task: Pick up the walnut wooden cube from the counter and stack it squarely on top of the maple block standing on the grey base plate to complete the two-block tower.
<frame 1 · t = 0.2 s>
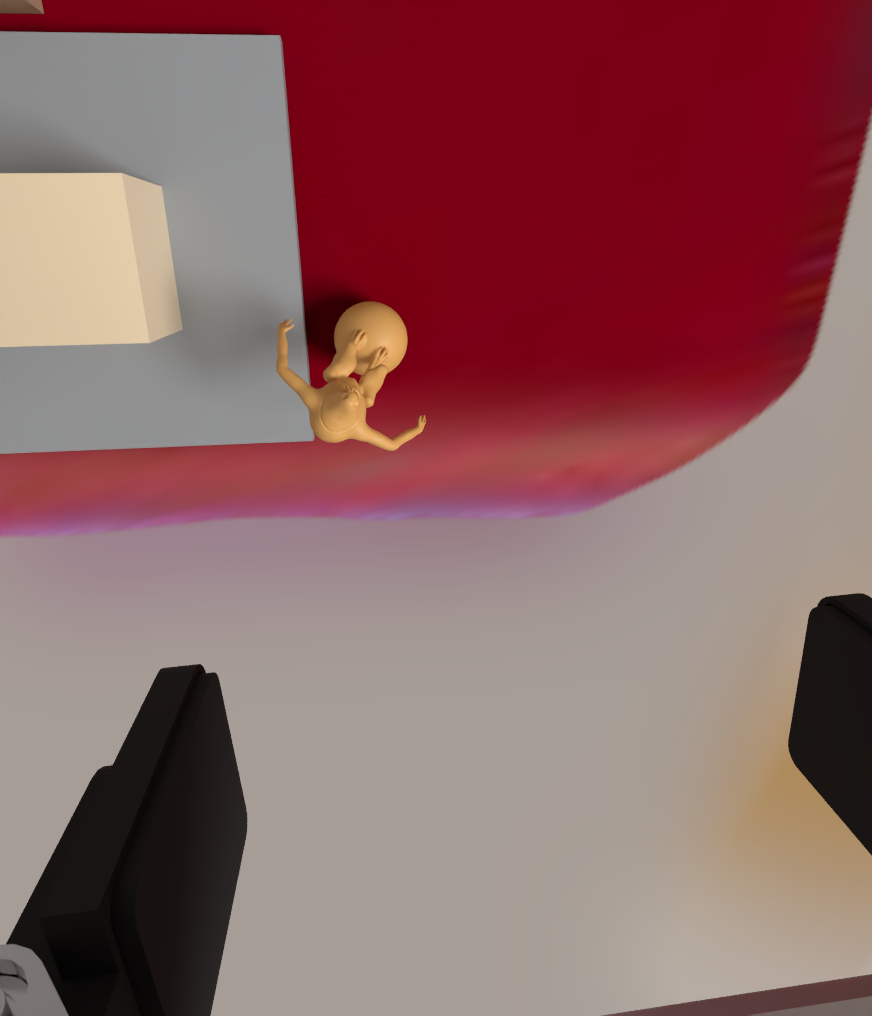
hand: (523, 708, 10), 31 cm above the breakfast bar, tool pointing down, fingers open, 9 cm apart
figurine: (360, 349, 39), on the breakfast bar
base plate: (109, 261, 35), on the breakfast bar
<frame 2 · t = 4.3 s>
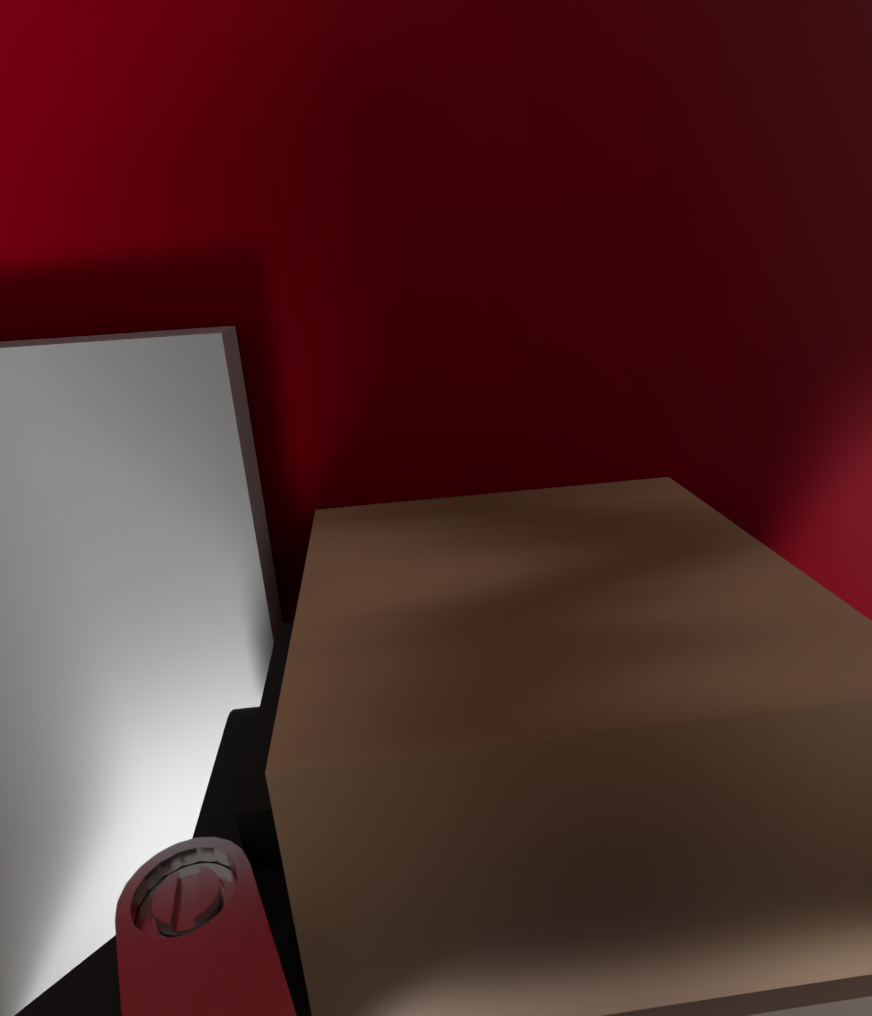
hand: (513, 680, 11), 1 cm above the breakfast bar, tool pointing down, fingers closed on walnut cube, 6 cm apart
walnut cube: (500, 646, 12), on the breakfast bar, touching gripper
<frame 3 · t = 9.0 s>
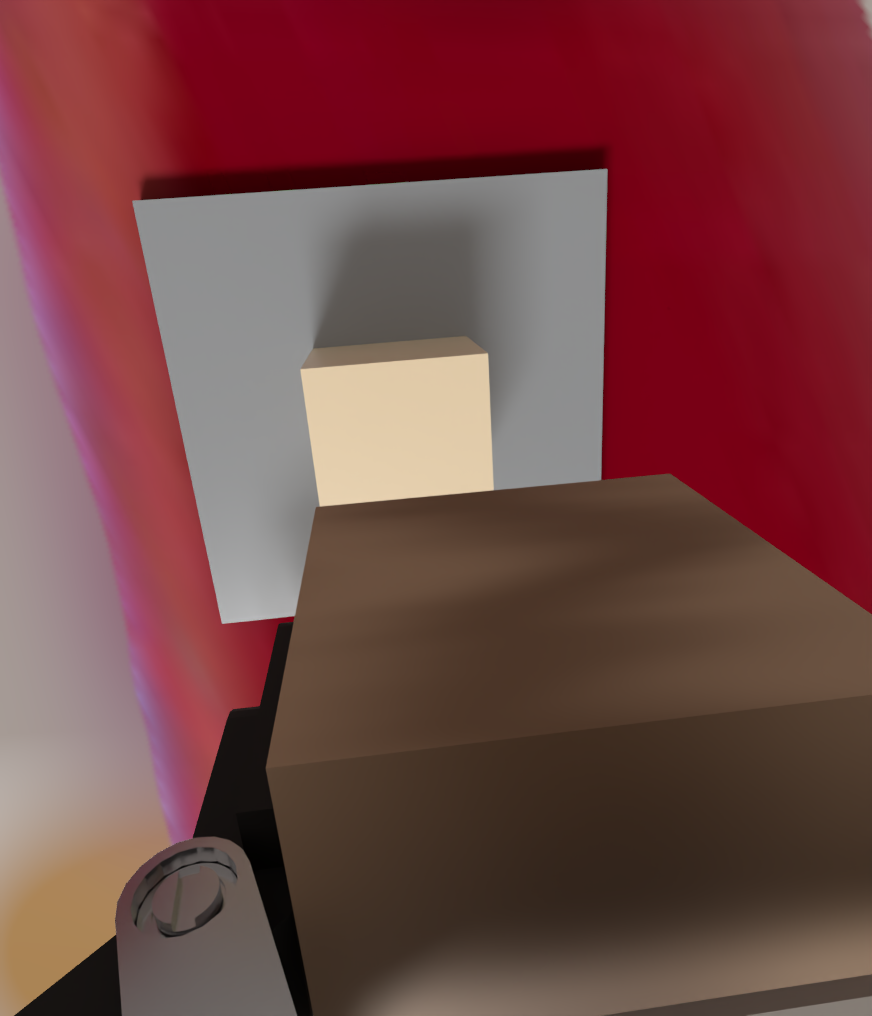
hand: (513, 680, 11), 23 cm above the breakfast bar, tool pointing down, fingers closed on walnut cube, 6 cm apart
base plate: (396, 412, 32), on the breakfast bar
walnut cube: (501, 644, 12), point 22 cm above the breakfast bar, touching gripper
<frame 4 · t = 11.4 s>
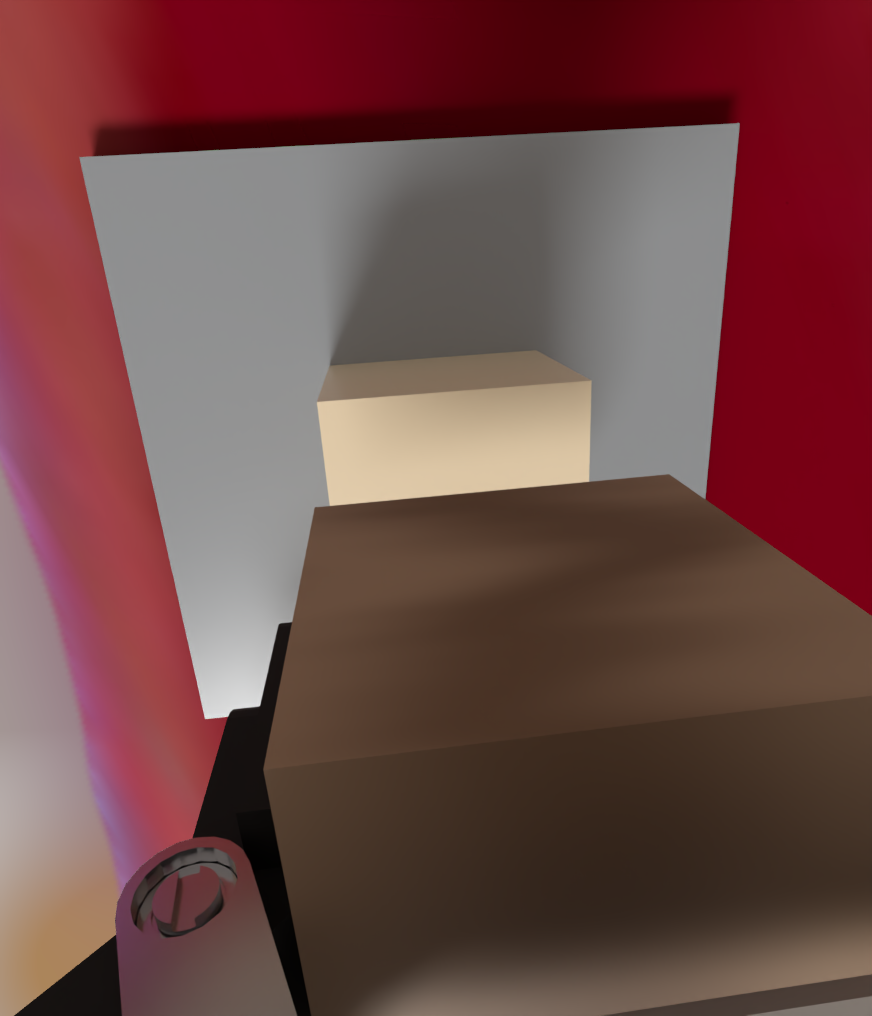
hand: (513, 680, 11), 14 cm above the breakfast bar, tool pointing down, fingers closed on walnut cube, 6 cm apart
base plate: (437, 449, 25), on the breakfast bar
walnut cube: (500, 644, 12), point 13 cm above the breakfast bar, touching gripper
when the fingers open (10 cm above the breakfast bar, at t = 13.7 s): walnut cube drops 1 cm, resting on base plate.
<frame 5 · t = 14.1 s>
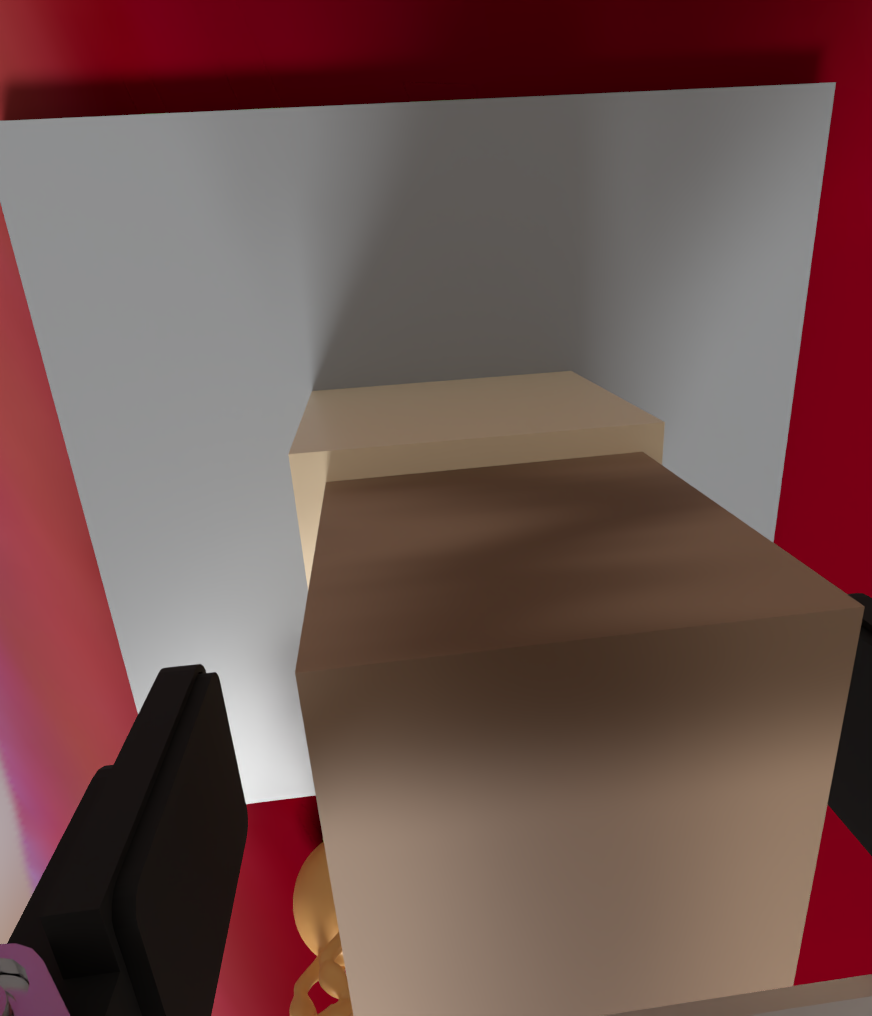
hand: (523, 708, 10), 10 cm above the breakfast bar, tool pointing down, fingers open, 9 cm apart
figurine: (329, 833, 24), on the breakfast bar
base plate: (446, 491, 20), on the breakfast bar
walnut cube: (492, 607, 13), point 7 cm above the breakfast bar, touching base plate
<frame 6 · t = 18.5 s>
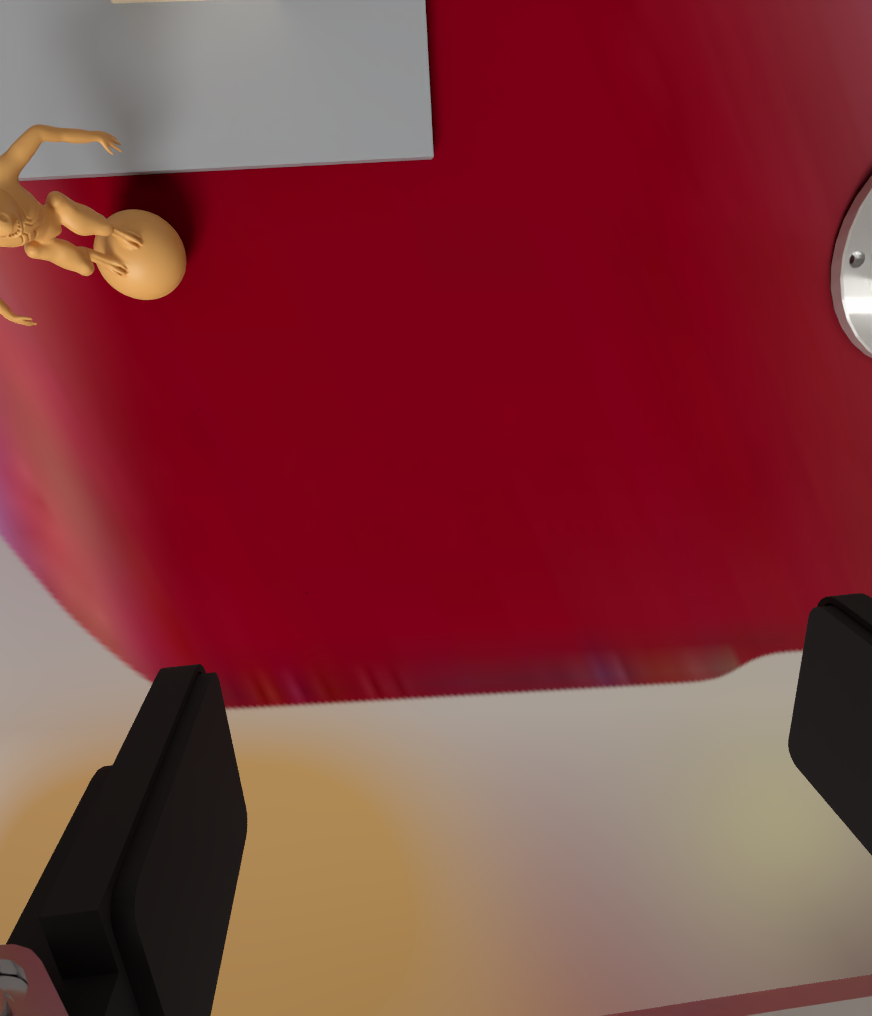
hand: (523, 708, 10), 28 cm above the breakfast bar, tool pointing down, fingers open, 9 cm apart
figurine: (135, 243, 33), on the breakfast bar
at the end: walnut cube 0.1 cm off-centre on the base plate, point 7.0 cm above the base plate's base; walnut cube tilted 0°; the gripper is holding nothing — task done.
